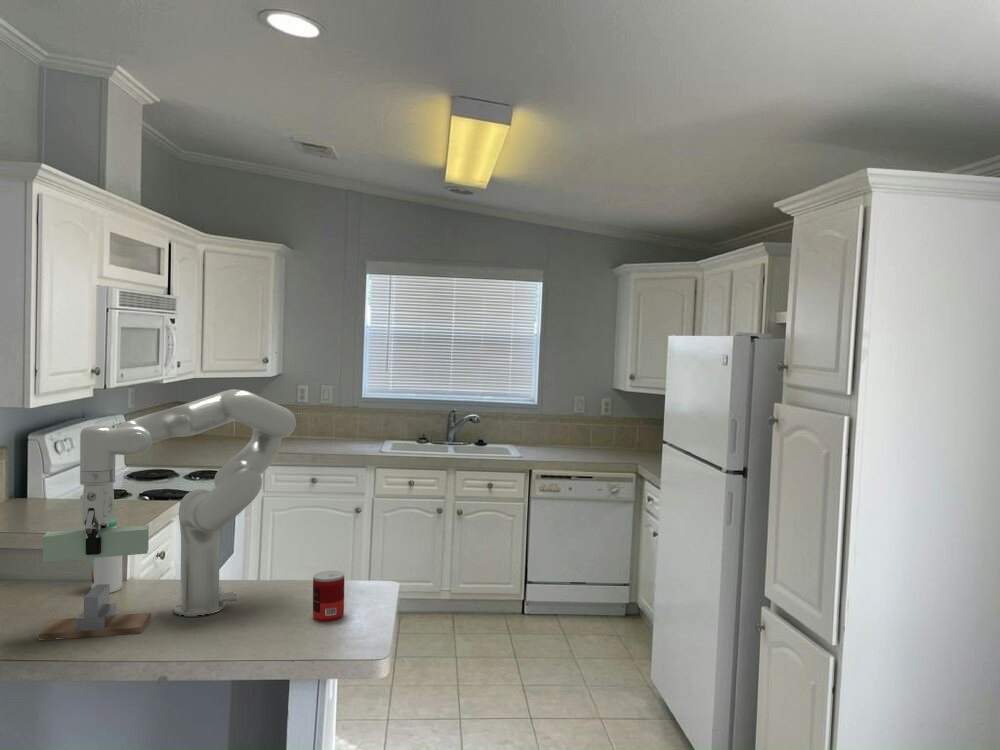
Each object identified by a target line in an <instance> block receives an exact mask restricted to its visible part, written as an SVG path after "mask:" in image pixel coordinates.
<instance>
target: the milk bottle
mask: <svg viewBox="0 0 1000 750" xmlns="http://www.w3.org/2000/svg"><path fill="white" fill-rule="evenodd" d="M108 527H109V528H114V527H117V520H116V519H115V518H113V519H112V520H111V521H110V522H108ZM90 579H91V582H90V583H91V586H90V587H91V590H92V589H93V588H94V587H95V586H96V585H99V584H110V594H111V593H115V592H119V591H120V590H121V589H122V587H123V556H113V557H101V558H91V578H90Z"/></svg>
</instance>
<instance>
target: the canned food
mask: <svg viewBox="0 0 1000 750" xmlns="http://www.w3.org/2000/svg"><path fill="white" fill-rule="evenodd" d="M344 613H345V573H344V572H343V571H340V570H324V571H320V572H316V573H314V574H313V577H312V617H313V620H315V621H316V622H320V623H327V622H329V623H331V622H334V621H337V620H340V619H342V617H344Z"/></svg>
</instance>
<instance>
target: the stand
mask: <svg viewBox="0 0 1000 750" xmlns="http://www.w3.org/2000/svg"><path fill="white" fill-rule="evenodd" d="M110 594H111V593H110V584H99V585H96V586H95V587H94V588H93V589H92V588H91V589H90V590H89V592H87V594H86V595H84V597H83V612H81V614H80V615H79V616H78V617H69V618H66V617H65V618H53V619H52V621H50V622H49V623H48V624H47V625H46V626H45V628H43V629H42V630H41V631H40V632H39V633H38V639H53V640H57V639H56V638H67V639H76V638H77V637H78V638H79V637H81V638H91V637H92V638H93V637H107V636H120V635H130V634H131V635H132V634H142V632H143V631H144V630H145V628H146V627H147V625H148V623H149V622H150V621H151V618H152V617H151V616H152V615H151V612H141V613H127V614H117V603H116V602H114V603H110V602H111V601H110ZM78 638H77V639H78ZM79 639H80V638H79Z"/></svg>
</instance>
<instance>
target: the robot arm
mask: <svg viewBox="0 0 1000 750" xmlns="http://www.w3.org/2000/svg"><path fill="white" fill-rule="evenodd" d="M233 422H238V423H240V424H241V425H244V426H247V427H249V428H250V429H252V435H251V438H250V440H249V441H248V443H247V444H246V445H245V446H244V447H243V448H242V449H241V450H240V451H239V452H238V453H237V454H236V455H234V456H233V457H232V458H231V459H230V460H228V462H226V463H225V464H224V465H222V466H221V467H220V468H219V469H218V470H217V472H216V474H214V475H215V476H214V480H213V484H214V488H213V489H212V490H211V491H210V490H207V489H202V488H200V489H199V488H198V489H194V490H191V491H189V492H187V493H186V494H184V496H183V497H182V499H181V501H180V504H179V506H178V520H179V528H180V529H179V530H180V595H179V596H180V601H179V602H178V603H176V604H175V605H174V606H173V613H174V614H176V613H177V614H179V615H178V616H181V615H184V616H183V617H197V616H196V615H202V614H208V613H212V612H215V611H217V610H220V609H222V608H223V607H224V606H225V607H226V602H237V598H238V595H237V593H234V591H230V592H224V591H222V587H220V550H221V547H220V545H221V543H220V541H221V540H220V538H221V537H220V530H222V529H224V528H225V527H226V526H227V525H228V524H230V523H231V522H232V521H233V520H234V519H235V518H236V517H237V516H238V515H239V514H240V513H242V511H244V510H245V508H247V507H249V505H250V504H251V503H252V502H254V500H255V499H256V498H257V496H258V495H259V494H260V491H261V490H262V486H263V479H262V474H263V473H265V471H266V470H267V469H269V467H270V466H271V465H272V464H273V462H275V460H276V459H277V457H278V454H279V452H280V449H281V443H282V439H284V438H288V437H289V436H291V435H292V434H293V433H294V431H295V430H296V425H297V422H296V416H295V415H294V413H293V411H291V410H290V409H288V408H287V407H284V406H282V405H280V404H278V403H275V402H272V401H270V400H268V399H265V398H264V397H262V396H259V395H257V394H255V393H253V392H250V391H248V390H244V389H243V390H242V389H235V388H234V389H233V388H232V389H228V390H223V391H220V392H217V393H215V394H211V395H208V396H205V397H202V398H199V399H196V400H193V401H189V402H187V403H184V404H181V405H177V406H174V407H173V406H172V407H171V408H166V409H164V410H163V409H162V410H160V411H156V412H152V413H150V414H145V415H142V416H140V417H136V418H134V419H130V420H127V421H125V422H123V423H120V424H118V425H116V427H112V426H109V425H93V426H86V427H84V428H82V429H81V430H80V434H79V435H80V436H79V437H80V439H79V485H81V486H83V492H82V505H81V506H82V510H81V511H82V512H81V517H82V518H81V519H82V520H81V521H82V525H83V526H84V530H85V529H86V555H98V554H100V553H101V537H100V528H109V527H108V522H110V521H111V520H112V519H115V515H116V514H115V511H116V510H115V492H114V491H115V490H114V483H116V455H117V456H120V455H121V456H140V455H142V454H144V453H145V452H147V451H148V450H149V449H150V448H151V446H152V443H155V442H159V441H162V440H166V439H171V438H178V437H179V438H180V437H183V438H184V437H191V436H195V435H198V434H201V433H204V432H207V431H209V430H212V429H215V428H217V427H220V426H223V425H227V424H229V423H233ZM95 529H97V530H95ZM225 607H224V608H225ZM224 608H223V609H224ZM223 609H222V610H223ZM220 611H221V610H220ZM177 614H176V615H177Z"/></svg>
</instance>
